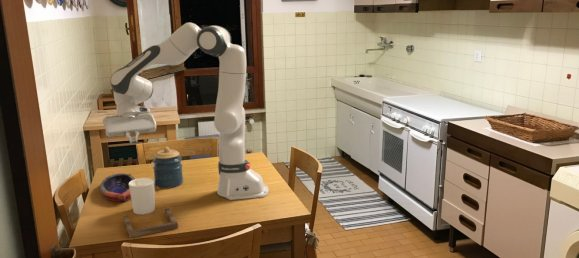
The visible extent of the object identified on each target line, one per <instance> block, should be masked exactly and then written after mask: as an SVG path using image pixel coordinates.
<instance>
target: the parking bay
mask: <svg viewBox="0 0 579 258" xmlns="http://www.w3.org/2000/svg"><path fill="white" fill-rule="evenodd" d="M164 213H165V215H166V218H167V219H168V221H169V222H167V223H162V224H158V225H154V226H148V227H143V228H138V229H133V227H132V224H131V220H130V218H129V216H128V215H123V223H124V225H125V228H126V230H127V231H126V232H127V235H128V237H129V239H130V238H131V239H132V238H137V237H141V236H147V235H150V234H157V233H160V232H166V231H170V230H172V231H173V230H176V229H179V224H178V222H177V219H176V218H175V216H174V214H173V213H172V211H171V209H170V208H169V207H166V208H165V209H164Z"/></svg>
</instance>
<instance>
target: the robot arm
mask: <svg viewBox="0 0 579 258" xmlns="http://www.w3.org/2000/svg"><path fill="white" fill-rule="evenodd" d="M198 49H200V50H201V51H202V52H204V53H205V54H206V55H207V54H208V55H209V56H212V57H216V58H218V61H219V71H218V72H219V73H218V90H217V97H216V103H215V111H214V120H213V124H214V128H215V129H216V131H217V132H219V136H218V144H217V145H218V163H217V166H218V167H217V168H218V169H217V170H218V175H219V178H218V179H219V180H218V187H217V191H216V192H217V193H216V194H217V195H218V196H219V197H223V198H226V199H227V200H231V201H235V200H244V199H253V198H254V199H255V198H264V197H266V196H268V194H269V186H268V185H267V184H266V183H264V181H263V177H262V175H260V173H258V172H256V171H254V170H253V169H252V168H251V162H250V160H247V159H246V153H245V151H246V150H245V139H246V138H245V136H246V134H245V133H246V110H245V108H244V107H243V105H244V102H245V101H244V100H245V95H246V80H247V79H246V78H247V57H246V56H247V55H246V50H245V49H244V48H243V47H242V46H241V45H239V44H233V43H232V36H231V33H230V31H229V30H228V28H226V27H223V26H222V25H221V26H220V25H209V26H205V27H203V28H201V27H200V26H198V25H197V24H196V23H193V22H185V23H184V24H182V25H181V26H180V27H179V28H177V29H176V30H175V31H174V32H173V33H171V34H170V35H169V37H168V38H166V39H165V40H164V41H162V42H161V43H157V44H155V45H151V46H149V47H148V48H146V49H144V51H142V52H141V53H139V54H138V55H136V57H135V58H134V59H132V60H131V61H130V62H128V63H127V64H126V65H124V66H123V67H121V68H118V69H117V70H116V71H114V73H112V74H111V77H110V86H111V88H112V90H113V98H114V102H115V105H116V114H114V115H107V116H105V117H104V118H103V119H102V122H103V126H104V127H105V136H107V137H108V138H111V137H120V136H125V138H126V139H127V140H129V143H130V144H133V143H134V144H135V143H138V141H139V140H138V139H139V135H140V134H145V133H155V132H156V131H157V123H156V120H155V117H154V116H153V114H152V113H151V109H150V108H149V107H145V106H140V105H139V104H142V103H144V102H146V101H147V100H149V99H150V98H151V97H152V96H153V94H154V85H153V82H152V81H151V80H149V79H148V78H147V79H146V78H145V77H142V76H141V75H140V74H141V73H142V72H143V71H145V70H146V69H147V68H148V67H150V66H153V65H167V66H178V65H181V64H183V63H184V62H185V61H186V60H187V59H189V57H191V55H192V54H193V53H195V51H196V50H198ZM131 135H135V136H133V137H132V136H131Z"/></svg>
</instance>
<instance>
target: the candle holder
mask: <svg viewBox="0 0 579 258" xmlns="http://www.w3.org/2000/svg"><path fill="white" fill-rule="evenodd" d="M129 189H130V195H131V198H130V201H131V206H132V211H133V213H134V214H136V215H148V214H151V213H153V212H154V211H155V209H156V207H155V206H156V198H155V197H156V194H155V189H156V188H155V181H154V178H151V177H141V178H140V177H139V178H135V180H132V181H130V182H129Z"/></svg>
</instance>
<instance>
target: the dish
mask: <svg viewBox="0 0 579 258" xmlns="http://www.w3.org/2000/svg"><path fill="white" fill-rule="evenodd" d="M135 179H136V178H135V177H134V176H133V175H132V174H131V173H121V172H120V173H119V172H118V173H114V174H111V175H108V176H107V177H105V178H104V179H103V180H102V181H101V183H100V185H99V190H100V192H101V194H102V196H103V197H104V198H105V199H106V200H108V201H113V202H125V201H128V200H130V199H131V195H130V189H129V182H130V181H132V180H135Z"/></svg>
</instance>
